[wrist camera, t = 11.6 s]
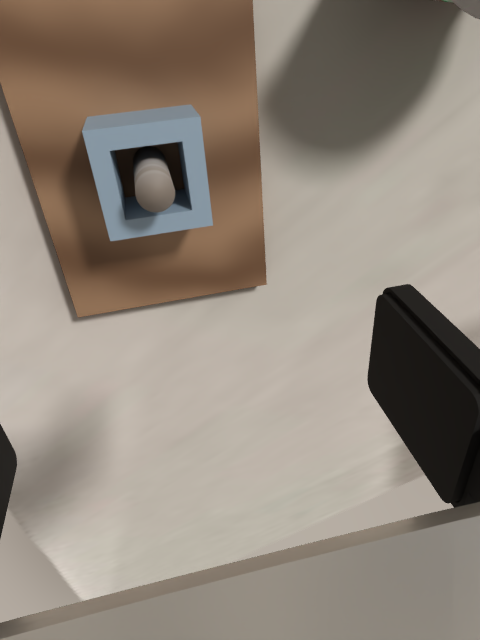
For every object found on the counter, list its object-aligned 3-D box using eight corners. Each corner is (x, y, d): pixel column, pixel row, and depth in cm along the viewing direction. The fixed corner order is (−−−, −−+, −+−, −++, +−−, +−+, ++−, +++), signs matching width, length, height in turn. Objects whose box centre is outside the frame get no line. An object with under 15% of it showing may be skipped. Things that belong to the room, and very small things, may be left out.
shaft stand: (-31, -30, 23) (-84, -46, 17) (244, -51, 25) (283, -72, 19) (79, 308, 34) (70, 369, 28) (262, 277, 36) (290, 328, 30)
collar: (87, 116, 26) (81, 131, 23) (190, 104, 27) (200, 116, 24) (111, 216, 30) (110, 241, 26) (203, 203, 30) (213, 225, 27)
